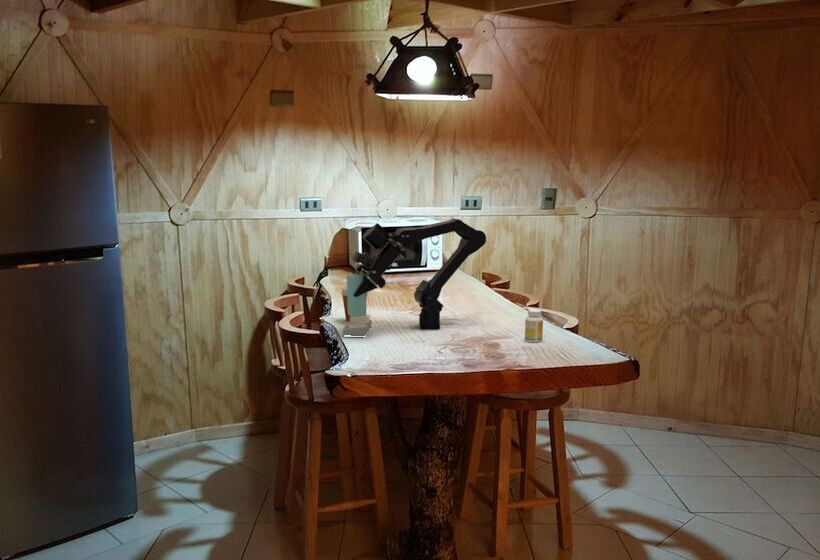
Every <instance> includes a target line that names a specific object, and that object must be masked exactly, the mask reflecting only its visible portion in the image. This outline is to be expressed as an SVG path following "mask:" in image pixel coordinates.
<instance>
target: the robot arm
mask: <svg viewBox="0 0 820 560" xmlns="http://www.w3.org/2000/svg"><path fill="white" fill-rule="evenodd" d="M450 233H455V234H456V235H457V236H459V237H460V240H459V243H458V247H457V248H456V249H455V250H454V252H453V253H452V254H451V256H449V257H448V259H447V260H446V261H445V262H444V264H443V265H442V266H441V267H440V268H439V270H437V272H436V273H435V275H434V276H433V277H432V278H430V279H429V280H425V279H422V280H421V282H420V284H419V285H418V286H417V287H415V288H414V289H415V290H414V293H413V297H414V301H415V302H416V303H418V306H419V307H420V308H421V309H420V313H419V315H418V317H419V318H418V319H419V321H418V322H419V325H418V326H419V327H420V328H421V330H422V329H423V330H440V329H441V312H442V311H443V307H444V304H442V302H440V300H438V299H439V297H440V294H441V291H442V289H443V287H444V286H445V285H446V284H447V282H448V281H449V280H450V279H451V277H452V276H453V275H454V274H455V273H456V272H457V270H458V269H459V268H460V267H461V266H462V265H463V264H464V262H465V261H466V260H467V259H468V257H469V256H470V255H473V254H474V253H475V252H478V251H479V250H480V249H482V247H483V246H484V245H485V244H486V242H487V236H486V233H485V232H484V231H482V230H478V229H475V228H474V227H472V226H470V225H469V224H467V223H465V222H464V221H462V219H460V218H451V219H449V220H445V221H444V220H443V221H440V222H436V223H432V224H430V225H424V226H419V227H402V228H401V227H400V228H397V229H396V231H395V232H394V231H393V232H387V231H386V230H385V229H384V228H383V227H382V226H381V225H380V223H379V222H378V223H377V222H376V223H375V224H374V225H372V226H371V227H370V228H369V229H366V231H365V232H364V234H363V235H362V239H363V240H364V241H366V243H368V245H370V247H371V248H372V249H374V250H375V251H376V250H380V251H379V252H378V253H377V254H372V256H371V254H370V253H368V252H366V251H364V252H363V253H362V252H359V251H355V252H354V255H353V256H352V259H351V260H352V261H353V262H356V263H357V265H356V266H355V267H354V269H355V274H363V281H362V283H361V284H360V286H359V287H358V288H357V290H356V291H355V293H354V296H355V297H358V296H360V295H362V294H364V293H367V292H368V293H369V292H371V291H374V290H377V289H379V288H380V289H383V288H384V287H385V286H386V283H387V282H386V279H385V278H384V277H383V275H384V273H386V271H390V270H391V266H392V265H393V264H394V262H395V261H396V260H398V258H403V259H407V250H406V249H402V248H401V247H400V246H402V247H404V248H409V247H413V246H414V245H416V244H419V243H420V242H422V241H423V240H425V239H429V238H432V237H433V238H434V237H438V236H441V235H445V234H450ZM392 242H394V243H395V244H393V243H392ZM378 287H379V288H378ZM368 293H367V294H368Z"/></svg>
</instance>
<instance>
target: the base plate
mask: <svg viewBox="0 0 820 560" xmlns="http://www.w3.org/2000/svg"><path fill="white" fill-rule="evenodd" d="M370 317H371V316H370V314H366V316H359V317H351V316H350V322H349V323H346V325H345V327H344V328H343V329H342V336H343V335H351V336H365V335H366V334H367V332H368V331H369V329H370V328H371V329H372V320H370V319H371V318H370ZM371 329H370V330H371ZM369 332H370V331H369ZM369 332H368V333H369ZM367 335H368V334H367ZM367 335H366V336H367Z"/></svg>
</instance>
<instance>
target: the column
mask: <svg viewBox="0 0 820 560" xmlns="http://www.w3.org/2000/svg"><path fill="white" fill-rule="evenodd" d="M362 281H363V274H356V273H354V274H353V273H352V274H351V273H350V274H346V287H347V300H348V314H349V315H350V316H351V317H359V316H366V315H367V298H366V293H364V294H362V295H360V296H358V297H355V296H354V293H355V291H356V290H357V288H358V287H359V286H360V284H361V283H362Z"/></svg>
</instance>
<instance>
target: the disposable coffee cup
mask: <svg viewBox="0 0 820 560" xmlns="http://www.w3.org/2000/svg"><path fill="white" fill-rule="evenodd" d="M368 293H369V292H367V293H366V299H367V296H368ZM340 294H341V296H342V302H343V310H344V314H345V322H346V321H347V322H350V315H349V314H348V300H347V286H344V287H343V288H341V292H340Z"/></svg>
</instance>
